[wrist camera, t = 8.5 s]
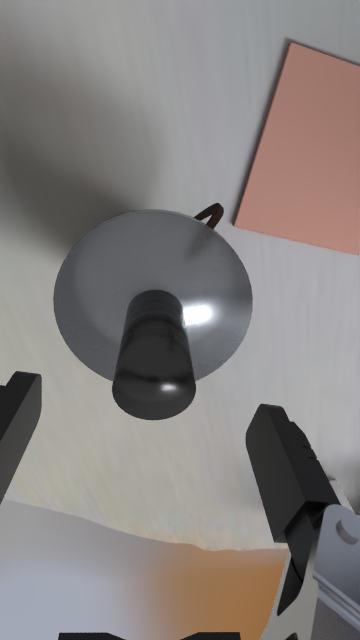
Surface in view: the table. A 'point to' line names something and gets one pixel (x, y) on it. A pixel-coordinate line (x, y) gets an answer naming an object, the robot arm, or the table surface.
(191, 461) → the table surface
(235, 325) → the lid
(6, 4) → the table surface
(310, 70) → the mat
